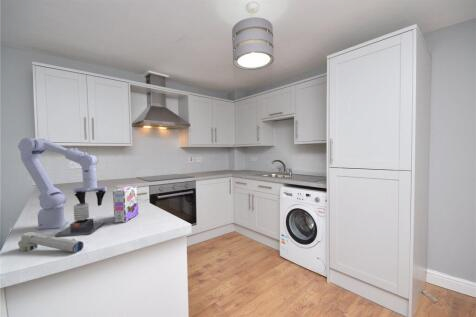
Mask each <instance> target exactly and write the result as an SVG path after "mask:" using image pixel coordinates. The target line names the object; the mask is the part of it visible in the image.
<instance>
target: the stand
mask: <svg viewBox="0 0 476 317" xmlns="http://www.w3.org/2000/svg"><path fill="white" fill-rule="evenodd" d="M106 224H107V221H105V220H104V221H94V218H87V219H85V220H78V221H73V222H72V223H70V224H69V227H67V228H65V229H63V230H60V231H59V232H58V233H56V234H54V236H55V237H56V238H63V237H74V236H87V235H92V234H93V233H95V232H96V231H98V230H99V229H100V228H102V227H103V226H104V225H106Z"/></svg>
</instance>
